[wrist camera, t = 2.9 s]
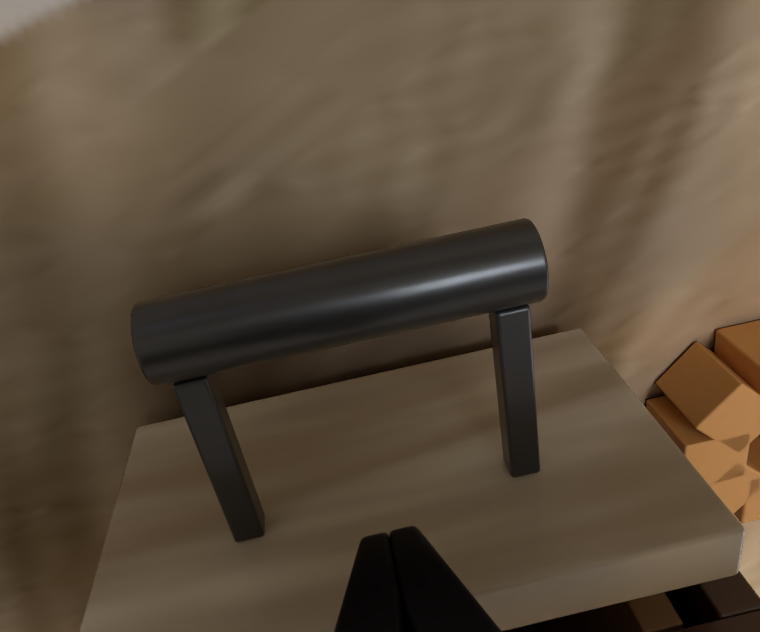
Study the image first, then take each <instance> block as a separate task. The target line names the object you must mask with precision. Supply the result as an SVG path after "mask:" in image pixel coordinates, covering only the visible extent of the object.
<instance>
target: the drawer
mask: <svg viewBox="0 0 760 632" xmlns="http://www.w3.org/2000/svg"><path fill="white" fill-rule="evenodd" d="M548 286H549V274H548V264H547V259H546V254H545V250H544V246H543V243H542V240H541V238H540V235H539V233H538V231H537V229H536V227H535V226H534V224H533V223H532V222H531V221H530V220H529V219H525V218H523V219H519V220H514V221H509V222H505V223H500V224H495V225H491V226H486V227H482V228H477V229H472V230H468V231H463V232H458V233H454V234H449V235H445V236H440V237H435V238H431V239H426V240H421V241H417V242H412V243H408V244H403V245H398V246H394V247H389V248H384V249H380V250H375V251H371V252H366V253H361V254H357V255H352V256H347V257H343V258H338V259H333V260H329V261H324V262H320V263H315V264H310V265H306V266H301V267H296V268H292V269H287V270H283V271H278V272H273V273H269V274H264V275H259V276H255V277H250V278H246V279H241V280H236V281H232V282H227V283H222V284H218V285H213V286H209V287H204V288H199V289H195V290H190V291H185V292H181V293H176V294H172V295H167V296H162V297H158V298H153V299H148V300H144V301H139V302H137V303H136V304H135V305H134V306H133V309H132V313H131V335H132V341H133V346H134V350H135V354H136V357H137V360H138V363H139V365H140V368H141V370H142V372H143V374H144V375H145V377H146V379H147V380H148V381H149V382H150V383H151V384H152V385H155V386H160V385H165V384H169V383H173V390H174V392H175V395H176V397H177V400H178V402H179V405H180V407H181V410H182V412H183V415H184V417H181V418H176V419H172V420H167V421H163V422H158V423H154V424H149V425H145V426H140V427H138V428H137V430H136V433H135V437H134V440H133V444H132V447H131V451H130V454H129V458H128V462H127V465H126V469H125V472H124V476H123V479H122V483H121V486H120V490H119V493H118V497H117V500H116V504H115V507H114V511H113V514H112V518H111V521H110V525H109V528H108V532H107V536H106V539H105V543H104V546H103V550H102V553H101V557H100V560H99V564H98V567H97V571H96V574H95V578H94V581H93V585H92V588H91V592H90V595H89V599H88V602H87V606H86V610H85V613H84V617H83V620H82V624H81V627H80V631H79V632H334V630H335V626H336V623H337V619H338V616H339V612H340V609H341V606H342V602H343V599H344V595H345V592H346V588H347V585H348V581H349V578H350V574H351V571H352V568H353V564H354V561H355V557H356V554H357V550H358V547H359V543H360V541H361V539H362V538H363V537H365V536H369V535H373V534H378V533H382V532H386V533H387V534H388V535H389V537H390V532H391V531H392V530H395V529H399V528H403V527H408V526H416V527H417V528H418V529H419V530H420V531H421V532H422V534H423V535H424V536H425V537H426V539H427V540H428V541H429V542H430V544H431V545H432V546H433V547H434V548H435V550H436V551H437V552H438V553H439V555H440V556H441V557H442V558H443V559H444V561H445V562H446V563H447V564H448V566H449V567H450V568H451V569H452V571H453V572H454V573H455V574H456V575H457V577H458V578H459V579H460V580H461V582H462V583H463V584H464V585H465V587H466V588H467V589H468V590H469V591H470V593H471V594H472V595H473V596H474V598H475V599H476V600H477V601H478V603H479V604H480V605H481V606H482V607H483V609H484V610H485V611H486V612H487V614H488V615H489V616H490V617H491V619H492V620H493V621H494V622H495V623H496V625H497V626H498V627H499V628H500V630H501V631H502V632H672V631H676V630H680V629H683V622H682V620H681V619H680V617H679V615H678V614H677V612H676V611H675V609H674V607H673V606H672V604H671V602H670V601H669V599H668V597H667V596H666V594H665V593H664V592H667V591H671V590H675V589H680V588H684V587H688V586H692V585H696V584H700V583H704V582H708V581H713V580H717V579H721V578H725V577H729V576H733V575H736V574H737V573H738V572H739V566H740V560H741V554H742V547H743V541H744V534H745V531H744V528H743V526H742V525H741V524H740V522H739V521H738V520H737V519H736V518H735V516H734V515H733V514H732V513H731V511H730V510H729V509H728V508H727V507H726V505H725V504H724V503H723V502H722V500H721V499H720V498H719V497H718V495H717V494H716V493H715V492H714V491H713V489H712V488H711V487H710V486H709V484H708V483H707V482H706V481H705V480H704V478H703V477H702V476H701V475H700V473H699V472H698V471H697V470H696V469H695V467H694V466H693V465H692V464H691V462H690V461H689V460H688V459H687V458H686V456H685V455H684V454H683V453H682V451H681V450H680V449H679V448H678V446H677V445H676V444H675V443H674V442H673V440H672V439H671V438H670V437H669V435H668V434H667V433H666V432H665V431H664V429H663V428H662V427H661V426H660V424H659V423H658V422H657V421H656V420H655V418H654V417H653V416H652V415H651V413H650V412H649V411H648V410H647V409H646V407H645V406H644V405H643V404H642V402H641V401H640V400H639V399H638V398H637V396H636V395H635V394H634V393H633V391H632V390H631V389H630V388H629V386H628V385H627V384H626V383H625V382H624V380H623V379H622V378H621V377H620V375H619V374H618V373H617V372H616V371H615V369H614V368H613V367H612V366H611V364H610V363H609V362H608V361H607V360H606V358H605V357H604V356H603V355H602V353H601V352H600V351H599V350H598V349H597V347H596V346H595V345H594V344H593V342H592V341H591V340H590V339H589V338H588V336H587V335H586V334H585V333H584V331H583V330H582V329H574V330H570V331H565V332H561V333H556V334H552V335H547V336H543V337H538V338H534V339H532V331H531V316H530V307H529V306H528V304H531V303H535V302H540V301H542V300H544V299H545V298H546V296H547V293H548ZM486 313H489V318H490V329H491V339H492V348H489V349H485V350H480V351H476V352H471V353H467V354H462V355H458V356H453V357H449V358H444V359H440V360H435V361H431V362H426V363H422V364H418V365H413V366H409V367H404V368H400V369H395V370H391V371H386V372H382V373H377V374H373V375H368V376H364V377H359V378H355V379H350V380H346V381H342V382H337V383H333V384H328V385H324V386H319V387H315V388H310V389H306V390H301V391H297V392H292V393H288V394H283V395H279V396H274V397H270V398H266V399H261V400H257V401H252V402H248V403H243V404H239V405H234V406H230V407H226V406H225V403H224V400H223V398H222V395H221V392H220V389H219V387H218V384H217V381H216V378H215V376H214V374H215V373H219V372H224V371H228V370H233V369H237V368H242V367H246V366H251V365H255V364H260V363H264V362H269V361H273V360H278V359H282V358H287V357H291V356H296V355H300V354H305V353H309V352H314V351H318V350H323V349H328V348H332V347H337V346H341V345H346V344H350V343H355V342H359V341H364V340H368V339H373V338H377V337H382V336H386V335H391V334H395V333H400V332H404V331H409V330H413V329H418V328H422V327H427V326H431V325H436V324H440V323H445V322H449V321H454V320H458V319H463V318H467V317H472V316H477V315H481V314H486Z"/></svg>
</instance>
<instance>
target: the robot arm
mask: <svg viewBox="0 0 760 632" xmlns="http://www.w3.org/2000/svg"><path fill="white" fill-rule="evenodd" d="M334 632H502V631H501V630H500V628H499V627H498V626H497V625H496V623H495V622H494V621H493V620H492V619H491V617H490V616H489V615H488V614H487V612H486V611H485V610H484V609H483V607H482V606H481V605H480V604H479V603H478V601H477V600H476V599H475V598H474V596H473V595H472V594H471V593H470V591H469V590H468V589H467V588H466V587H465V585H464V584H463V583H462V582H461V580H460V579H459V578H458V577H457V575H456V574H455V573H454V572H453V571H452V569H451V568H450V567H449V566H448V564H447V563H446V562H445V561H444V559H443V558H442V557H441V556H440V555H439V553H438V552H437V551H436V550H435V548H434V547H433V546H432V545H431V544H430V542H429V541H428V540H427V539H426V537H425V536H424V535H423V534H422V532H421V531H420V530H419V529H418V528H417V527H416V526H408V527H403V528H399V529H395V530H392V531H391V532H390V537H389V535H388V534H387V533H386V532H382V533H378V534H373V535H369V536H365V537H363V538H362V539H361V541H360V543H359V547H358V550H357V554H356V557H355V561H354V564H353V568H352V571H351V574H350V578H349V581H348V585H347V588H346V592H345V595H344V599H343V602H342V606H341V609H340V612H339V616H338V619H337V623H336V626H335V630H334Z"/></svg>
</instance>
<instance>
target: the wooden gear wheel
mask: <svg viewBox="0 0 760 632" xmlns="http://www.w3.org/2000/svg"><path fill="white" fill-rule="evenodd" d="M656 384H657V386H658V387H659V388H660V389H661V390H662V391H663V392H664V394H665V395H666V396H662V397H657V398H653V399H649V400H647V404H646V409H647V410H648V411H649V412H650V413H651V415H652V416H653V417H654V418H655V420H656V421H657V422H658V423H659V424H660V426H661V427H662V428H663V429H664V431H665V432H666V433H667V434H668V435H669V437H670V438H671V439H672V440H673V442H674V443H675V444H676V445H677V446H678V448H679V449H680V450H681V451H682V453H683V454H684V455H685V456H686V458H687V459H688V460H689V461H690V462H691V464H692V465H693V466H694V467H695V469H696V470H697V471H698V472H699V473H700V475H701V476H702V477H703V478H704V480H705V481H706V482H707V483H708V484H709V486H710V487H711V488H712V489H713V491H714V492H715V493H716V494H717V495H718V497H719V498H720V499H721V500H722V502H723V503H724V504H725V505H726V507H727V508H728V509H729V510H730V511H731V513H732V514H735V516H736V517H737V518H738V519H739V521H740V522H741V523H746V522H750V521H754V520H759V519H760V320H757V321H753V322H749V323H744V324H740V325H735V326H731V327H726V328H722V329H718V330H717V331H716V338H715V348H714V353H713V352H712V351H711V350H709V349H708V348H706V347H705V346H703V345H702V344H700V343H699V342H695V343H694V344H693V345H692V346H691V347H690V348H689V349H688V350H687V351H686V352H685V353H684V354H683V355H682V356H681V357H680V358H679V359H678V360H677V361H676V362H675V363H674V364H673V365H672V366H671V367H670V368H669V369H668V370H667V371H666V373H665V374H664V375H663V376H662V377H661V378H660V379H659V380H658V381H657V382H656Z"/></svg>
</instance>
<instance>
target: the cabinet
mask: <svg viewBox="0 0 760 632" xmlns="http://www.w3.org/2000/svg"><path fill="white" fill-rule="evenodd" d="M664 593H665V594H666V596H667V597H668V599H669V601H670V602H671V604H672V606H673V607H674V609H675V611H676V612H677V614H678V615H679V617H680V619H681V620H682V622H683V629H680V630H676V631H672V632H760V598H759V597H758V595H757V594H756V593H755V591H754V590H753V589H752V587H751V586H750V585H749V583H748V582H747V581H746V579H745V578H744V577H743V575H742V574H741V573H740V571H739V572H738V573H737V574H736V575H733V576H729V577H725V578H721V579H717V580H713V581H708V582H704V583H700V584H696V585H692V586H688V587H684V588H680V589H675V590H671V591H667V592H664Z"/></svg>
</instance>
